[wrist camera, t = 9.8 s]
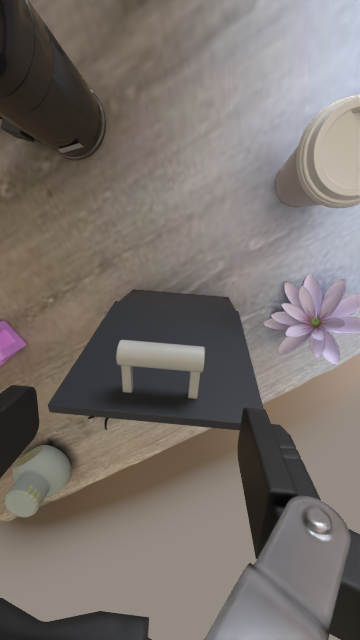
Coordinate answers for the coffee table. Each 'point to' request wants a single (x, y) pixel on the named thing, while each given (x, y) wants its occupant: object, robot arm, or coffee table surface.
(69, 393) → the lid
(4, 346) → the bracket
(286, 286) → the water lily
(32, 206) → the coffee table surface
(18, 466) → the air freshener
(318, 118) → the coffee cup
